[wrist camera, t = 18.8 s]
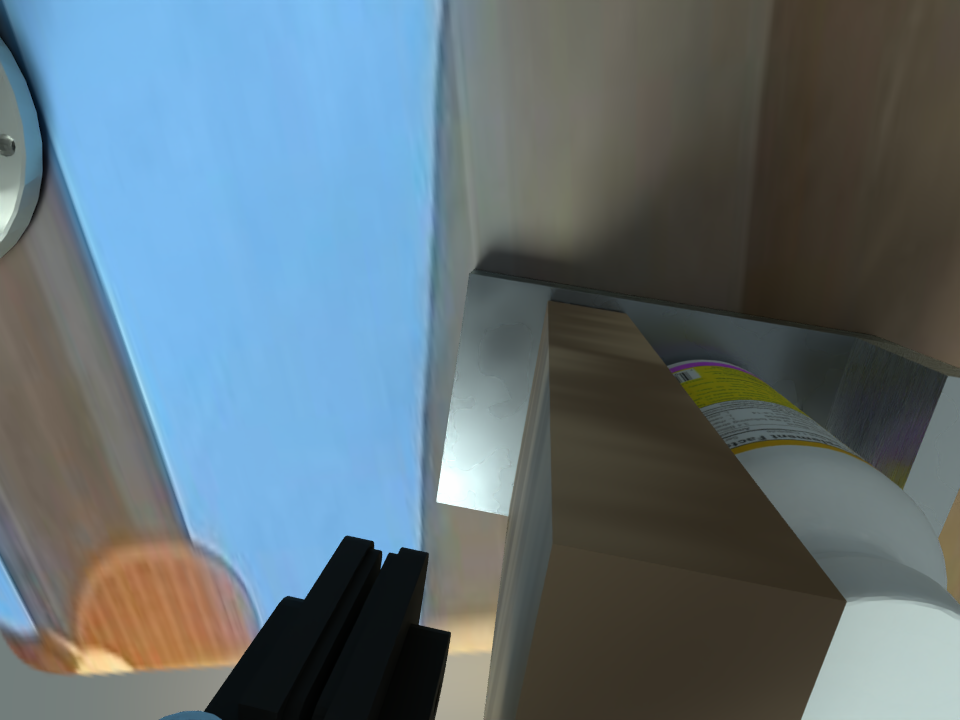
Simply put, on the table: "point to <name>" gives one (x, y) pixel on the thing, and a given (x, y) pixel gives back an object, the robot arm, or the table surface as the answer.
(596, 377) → the brown wooden block
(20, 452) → the table surface
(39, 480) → the table surface
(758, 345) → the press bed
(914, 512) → the supplement bottle
